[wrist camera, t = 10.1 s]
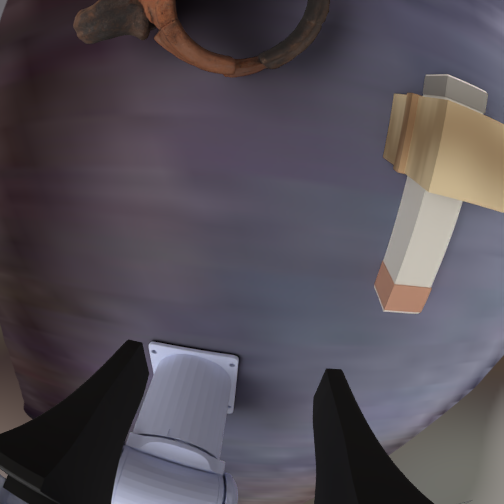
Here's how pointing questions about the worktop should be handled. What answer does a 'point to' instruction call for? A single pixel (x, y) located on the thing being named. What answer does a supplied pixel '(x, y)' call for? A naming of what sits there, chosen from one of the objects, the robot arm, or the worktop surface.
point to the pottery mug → (178, 41)
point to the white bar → (422, 220)
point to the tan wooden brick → (447, 149)
